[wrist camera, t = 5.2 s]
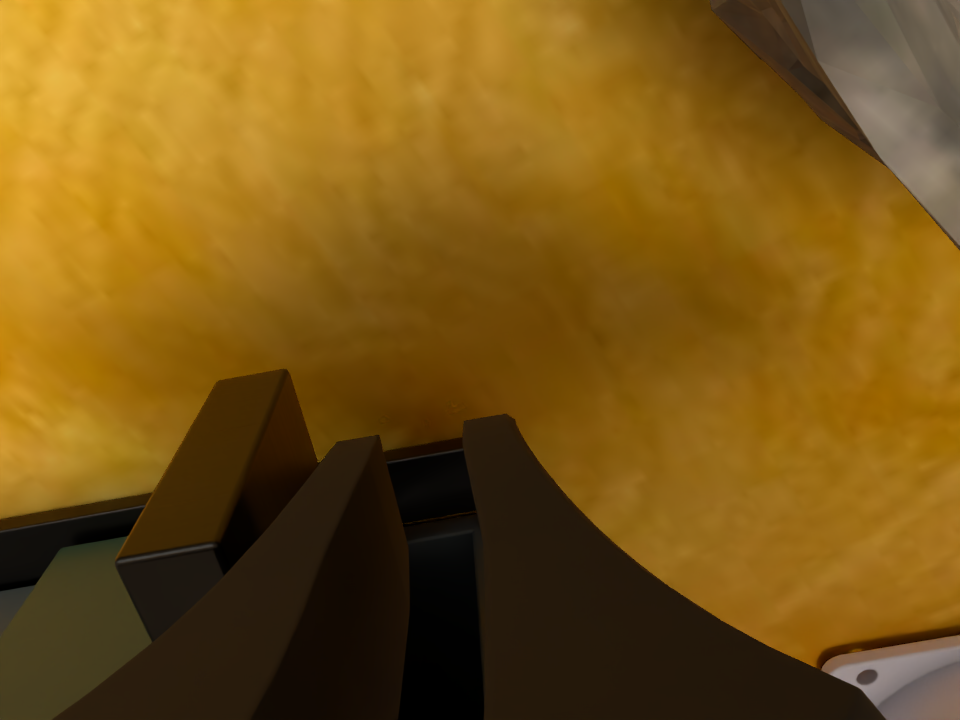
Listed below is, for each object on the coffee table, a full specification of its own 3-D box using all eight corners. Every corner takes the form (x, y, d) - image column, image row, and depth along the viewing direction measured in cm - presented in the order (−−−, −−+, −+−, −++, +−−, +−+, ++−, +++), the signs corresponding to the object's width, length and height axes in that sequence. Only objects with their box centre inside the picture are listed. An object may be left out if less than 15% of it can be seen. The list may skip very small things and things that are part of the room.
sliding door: (340, 310, 14) (247, 614, 7) (395, 511, 16) (364, 904, 9) (-28, 377, 14) (-471, 740, 7) (71, 568, 16) (-203, 997, 9)
